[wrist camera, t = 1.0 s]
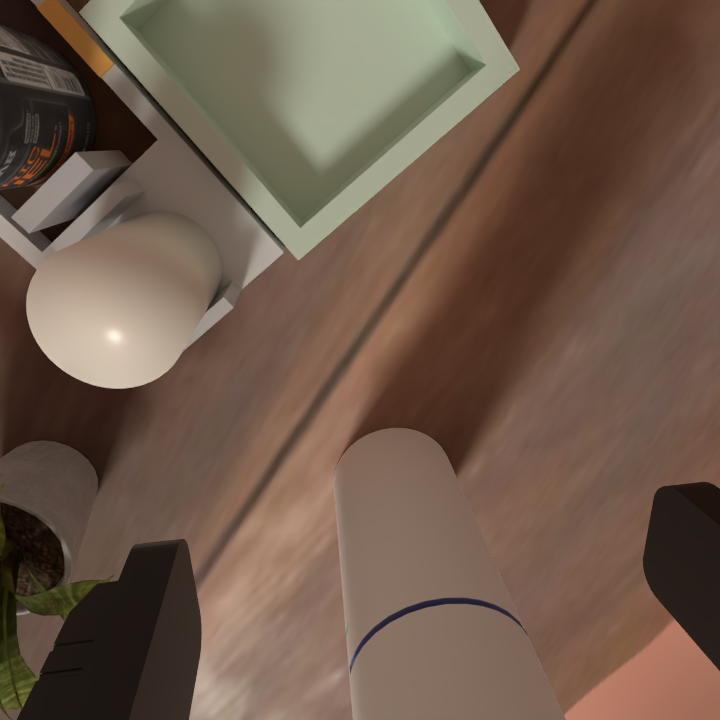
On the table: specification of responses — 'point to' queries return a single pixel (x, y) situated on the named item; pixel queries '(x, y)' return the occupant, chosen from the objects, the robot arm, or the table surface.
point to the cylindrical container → (426, 593)
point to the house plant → (39, 546)
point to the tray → (309, 91)
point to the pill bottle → (39, 110)
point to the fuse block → (131, 241)
